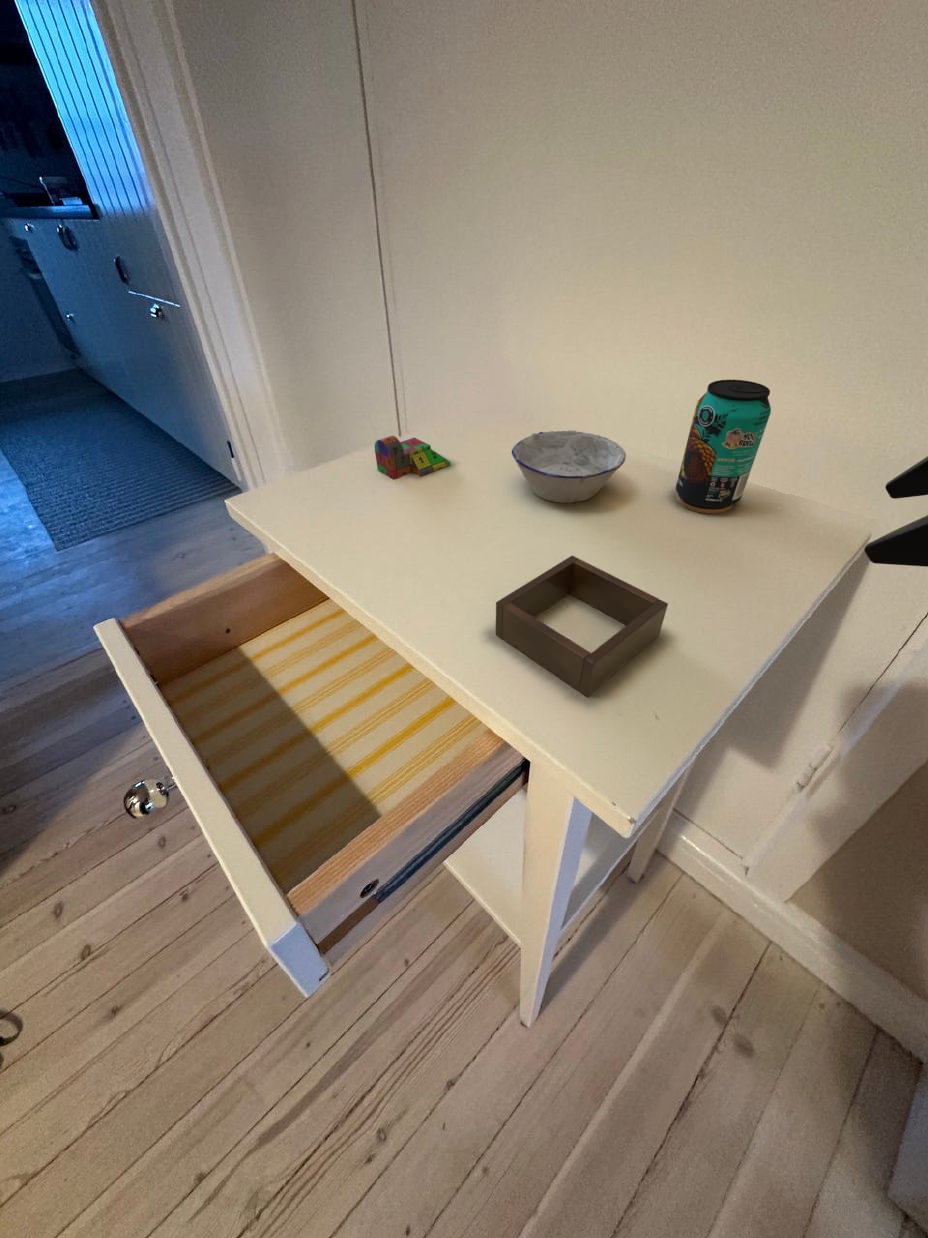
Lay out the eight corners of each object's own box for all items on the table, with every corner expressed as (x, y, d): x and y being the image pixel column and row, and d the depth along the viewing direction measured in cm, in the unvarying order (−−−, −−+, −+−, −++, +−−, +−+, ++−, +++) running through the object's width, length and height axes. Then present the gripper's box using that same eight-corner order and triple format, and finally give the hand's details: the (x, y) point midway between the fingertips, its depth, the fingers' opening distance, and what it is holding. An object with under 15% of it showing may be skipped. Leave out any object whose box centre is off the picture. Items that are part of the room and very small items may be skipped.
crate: (659, 636, 44) (668, 603, 41) (587, 697, 39) (593, 664, 37) (568, 586, 49) (572, 555, 47) (495, 634, 44) (495, 602, 42)
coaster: (739, 497, 61) (740, 493, 61) (722, 518, 57) (724, 514, 57) (687, 484, 64) (688, 480, 64) (669, 504, 60) (670, 500, 60)
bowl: (489, 492, 64) (490, 454, 61) (547, 457, 71) (549, 421, 68) (584, 525, 57) (590, 483, 54) (636, 482, 65) (644, 444, 62)
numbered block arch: (401, 483, 66) (396, 448, 63) (377, 470, 70) (372, 436, 67) (450, 464, 70) (448, 431, 67) (426, 452, 73) (423, 420, 70)
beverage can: (671, 481, 63) (697, 376, 56) (733, 485, 62) (768, 378, 54) (677, 509, 58) (706, 398, 50) (744, 514, 57) (785, 401, 49)
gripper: (1211, 155, 25) (841, 370, 37) (1384, 161, 14) (773, 465, 26) (1303, 360, 26) (916, 501, 38) (1527, 517, 15) (882, 644, 27)
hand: (878, 520), depth 33 cm, fingers open, 9 cm apart
